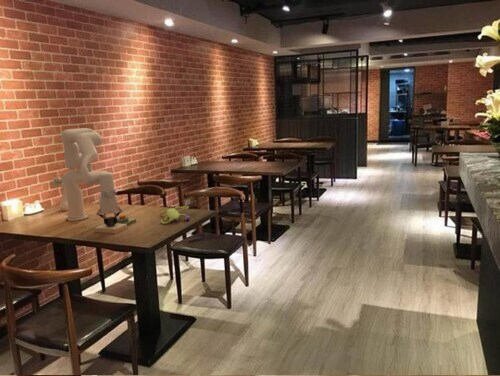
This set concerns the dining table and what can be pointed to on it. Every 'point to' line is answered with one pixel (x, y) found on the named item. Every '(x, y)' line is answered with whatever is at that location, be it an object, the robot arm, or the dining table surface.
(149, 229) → the dining table surface
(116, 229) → the cream flat block
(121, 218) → the button
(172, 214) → the figurine
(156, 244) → the dining table surface
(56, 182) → the flower vase
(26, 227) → the dining table surface
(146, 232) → the dining table surface
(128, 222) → the housing
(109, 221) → the knob
